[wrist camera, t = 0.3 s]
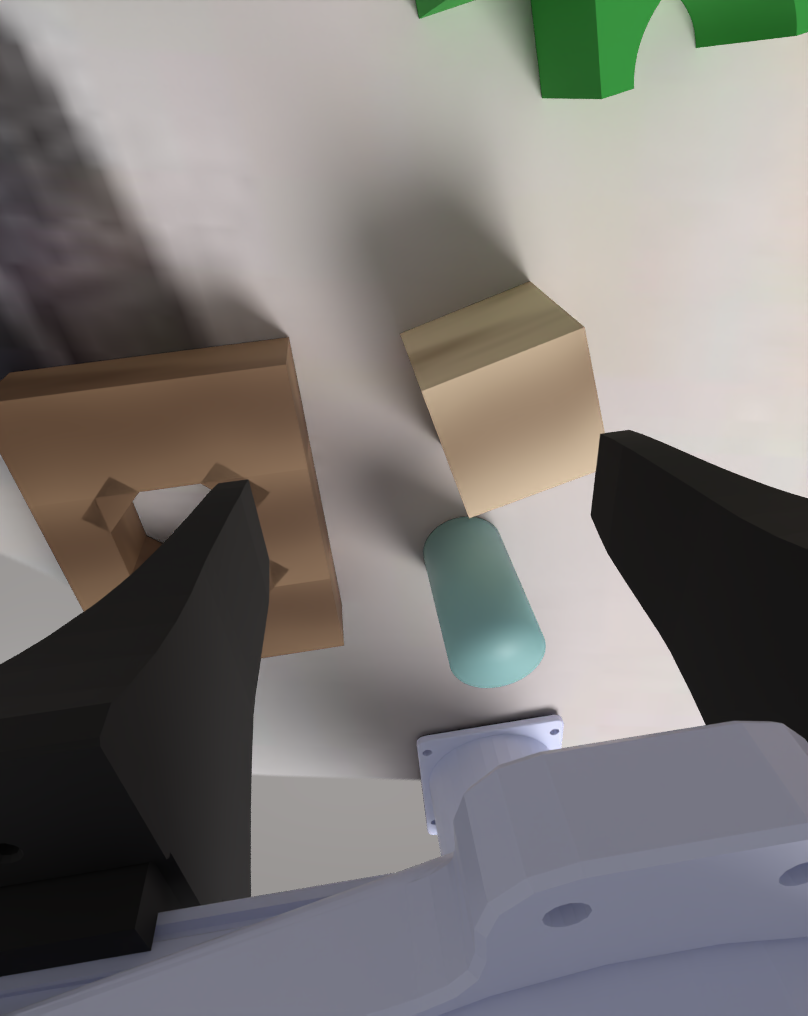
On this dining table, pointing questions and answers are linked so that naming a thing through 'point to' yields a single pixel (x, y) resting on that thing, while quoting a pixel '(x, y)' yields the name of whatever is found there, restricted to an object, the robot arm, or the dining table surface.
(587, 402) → the wooden cube block
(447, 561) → the teal dowel
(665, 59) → the dining table surface
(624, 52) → the green pronged block
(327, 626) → the socket block
